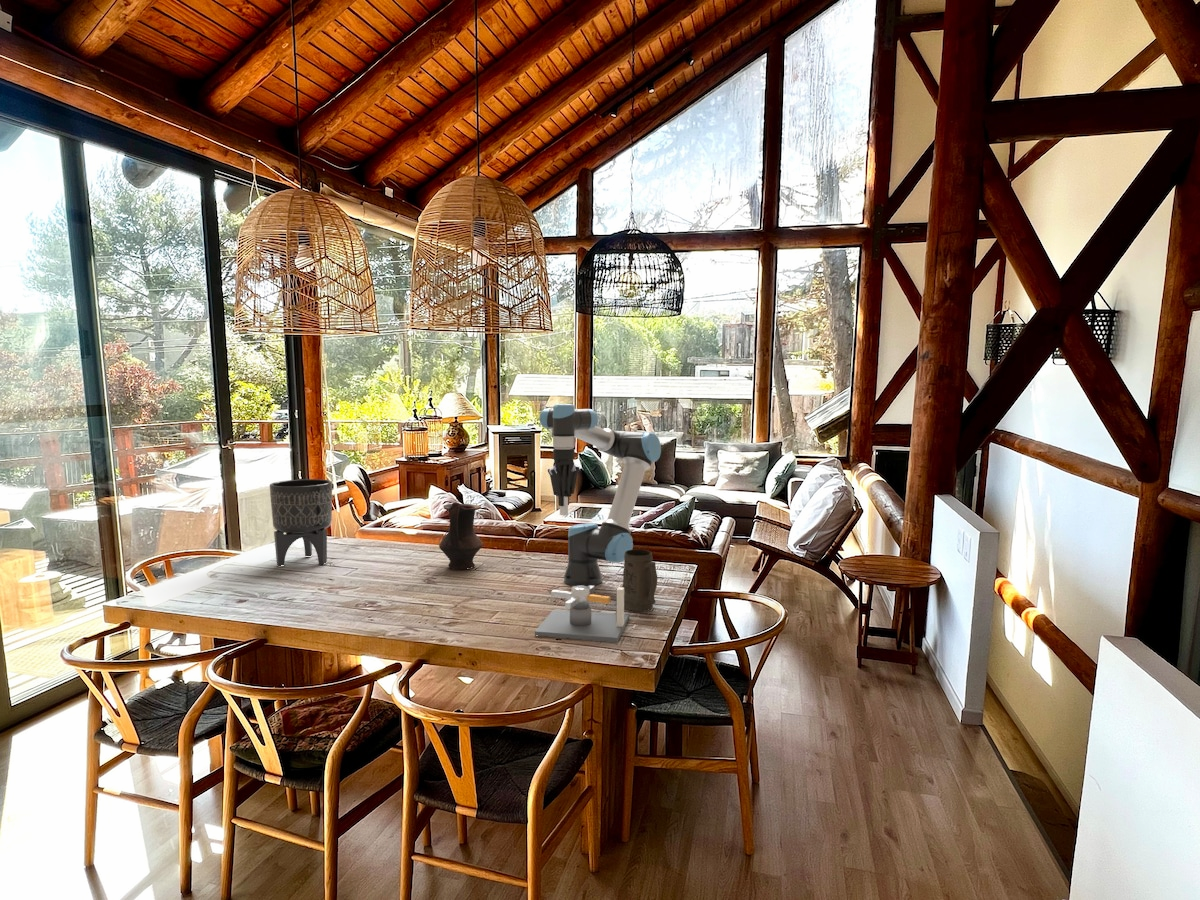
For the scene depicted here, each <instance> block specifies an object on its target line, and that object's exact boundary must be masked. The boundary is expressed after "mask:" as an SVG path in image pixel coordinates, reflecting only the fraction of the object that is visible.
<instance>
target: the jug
mask: <svg viewBox="0 0 1200 900" xmlns="http://www.w3.org/2000/svg"><path fill="white" fill-rule="evenodd" d="M480 509H482V506H480V505H477V504H476V505H475V504H470V503H459V502H457V501H453V502H452V503H447V504H445V505H444V506H443V510H446V511H448V512H449V530H448V532H447V534H445V536H444V537H443V538H442V540H441V541H440V543H439V544H438V547H439V549H440V550H441V551H442V552H443V554H444V556H446V557H447V559H448V560H449V562H448V563H449V564H448V568H449V569H451V570H455V569H467V568H471V567H474V566H475V567H476V564H475V563H474V561H473V560H474V557H476V555H477V554H478V552H479V551H480V550H481V549H482V548H483V545H484V544H483V542H482V540H481V539H480V537H479V535H477V534H476V532H475V530H474V524H475V516H476V515H475V513H476V511H477V510H478V511H479V510H480ZM475 567H474V568H475Z"/></svg>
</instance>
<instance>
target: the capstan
mask: <svg viewBox="0 0 1200 900" xmlns="http://www.w3.org/2000/svg"><path fill="white" fill-rule="evenodd" d="M595 590H596V585H593V586H591V585H590V586H583V585H579V586H571V589H570V591H569V590H568V591H566V590H559V589H553V590H551V593H550V597H553V598H559V599H566V601H565V602H564V608H565V609H566V610H570V609H571V608H574V609H587V608H589V607H590V606H591V602H592V603H599V604H606V605H608V604H610V603H611V599H612V598H611V596H608V595H600V594H593V593H594V592H596V591H595ZM567 599H568V600H567Z"/></svg>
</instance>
